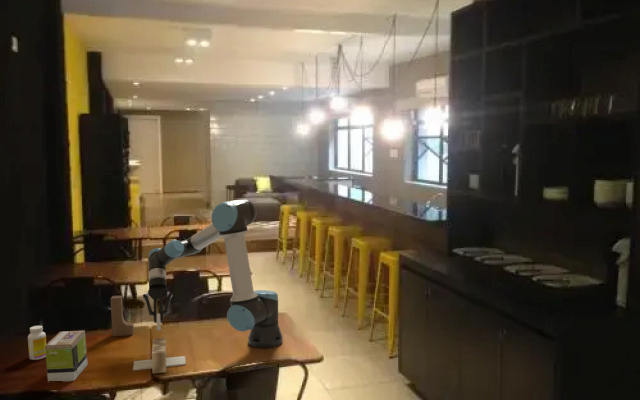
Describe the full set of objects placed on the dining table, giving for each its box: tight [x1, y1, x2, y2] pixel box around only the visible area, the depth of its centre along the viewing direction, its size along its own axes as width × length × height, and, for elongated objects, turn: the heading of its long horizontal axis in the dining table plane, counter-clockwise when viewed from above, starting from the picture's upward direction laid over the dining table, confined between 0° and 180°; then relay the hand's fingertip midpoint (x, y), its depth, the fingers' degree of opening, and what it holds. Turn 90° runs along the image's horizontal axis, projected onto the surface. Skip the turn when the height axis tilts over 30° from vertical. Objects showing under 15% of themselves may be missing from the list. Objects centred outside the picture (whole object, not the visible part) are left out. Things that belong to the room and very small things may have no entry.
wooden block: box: [110, 295, 135, 337], centre depth 253 cm, size 9×4×18 cm, turn 102°
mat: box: [132, 355, 187, 371], centre depth 220 cm, size 20×8×1 cm, turn 105°
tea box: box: [45, 329, 89, 383], centre depth 211 cm, size 15×10×15 cm, turn 5°
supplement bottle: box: [27, 325, 47, 361], centre depth 227 cm, size 7×7×13 cm
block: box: [151, 337, 167, 374], centre depth 218 cm, size 5×8×16 cm
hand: (158, 328), depth 231 cm, fingers closed
